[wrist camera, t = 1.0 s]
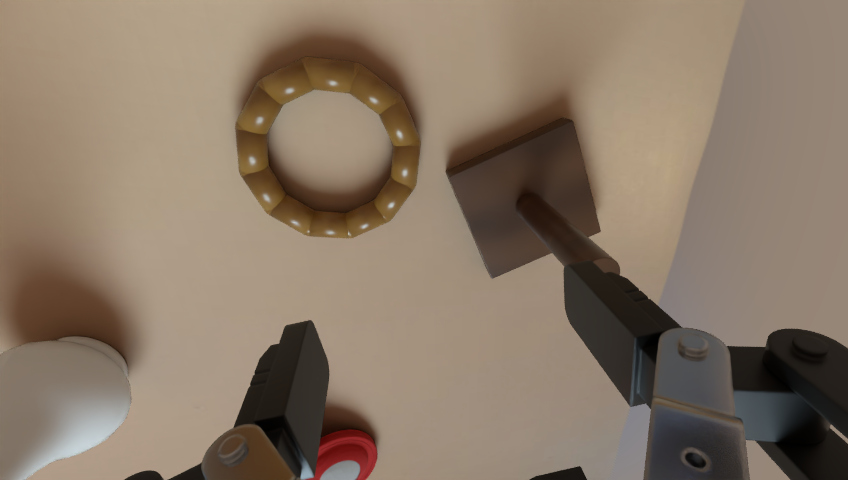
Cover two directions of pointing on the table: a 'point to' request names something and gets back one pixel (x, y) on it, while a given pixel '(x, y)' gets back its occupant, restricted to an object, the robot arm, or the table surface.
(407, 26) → the table surface
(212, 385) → the table surface
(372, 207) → the ring
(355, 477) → the tracker holder
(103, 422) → the flower vase
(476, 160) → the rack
